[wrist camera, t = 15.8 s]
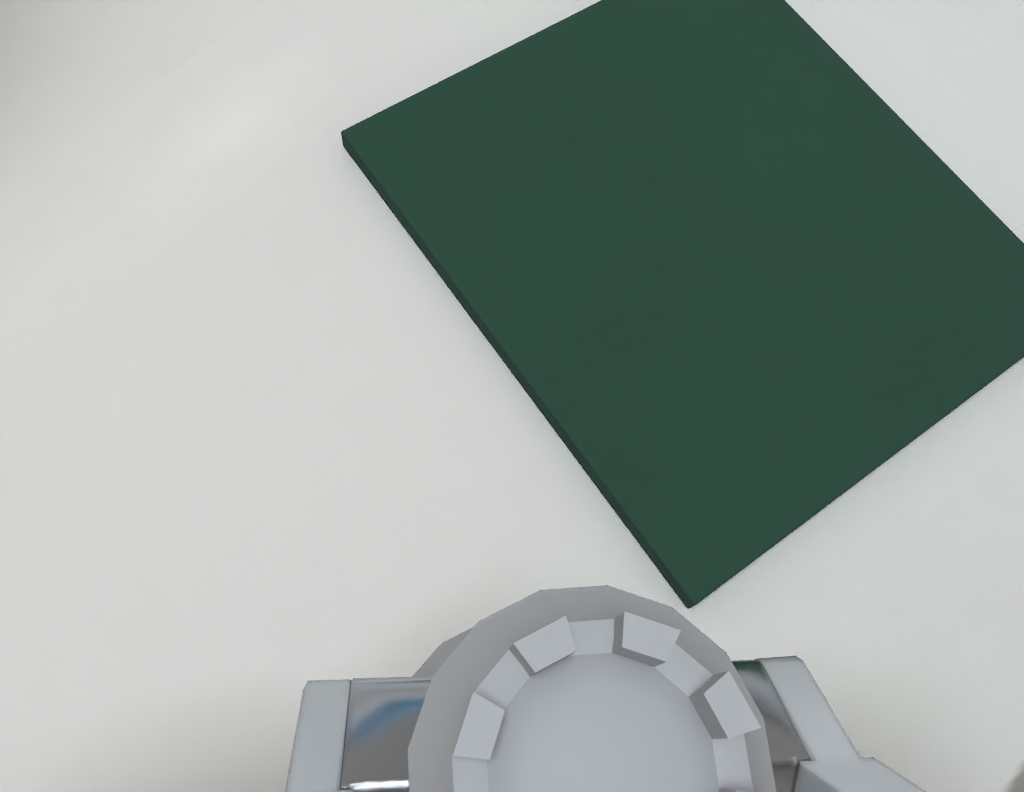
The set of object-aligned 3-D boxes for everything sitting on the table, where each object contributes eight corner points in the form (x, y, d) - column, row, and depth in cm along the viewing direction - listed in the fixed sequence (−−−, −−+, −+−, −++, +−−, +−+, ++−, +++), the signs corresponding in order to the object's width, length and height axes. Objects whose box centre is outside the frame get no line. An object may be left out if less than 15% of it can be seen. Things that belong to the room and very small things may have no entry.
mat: (1073, 318, 32) (1088, 307, 31) (687, 609, 27) (694, 605, 26) (718, -46, 37) (724, -63, 36) (342, 145, 32) (340, 131, 32)
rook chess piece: (698, 866, 14) (993, 999, 7) (420, 963, 13) (398, 1236, 6) (610, 589, 16) (768, 443, 8) (355, 661, 15) (271, 571, 7)
